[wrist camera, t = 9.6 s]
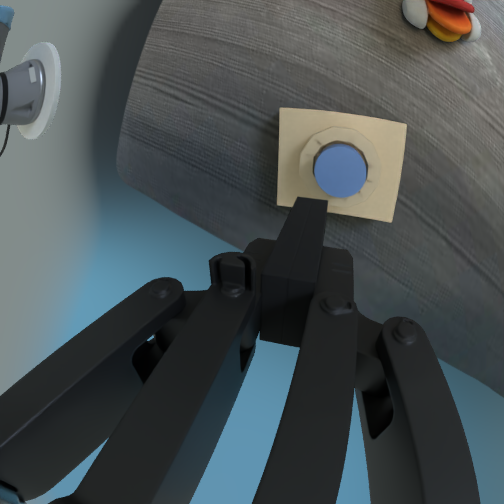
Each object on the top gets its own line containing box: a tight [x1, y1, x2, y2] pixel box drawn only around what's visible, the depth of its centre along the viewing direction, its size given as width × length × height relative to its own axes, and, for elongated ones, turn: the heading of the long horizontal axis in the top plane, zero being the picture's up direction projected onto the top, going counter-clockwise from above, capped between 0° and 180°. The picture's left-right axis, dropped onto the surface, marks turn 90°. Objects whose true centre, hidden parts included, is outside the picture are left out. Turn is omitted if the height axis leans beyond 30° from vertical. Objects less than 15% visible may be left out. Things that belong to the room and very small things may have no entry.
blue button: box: [314, 144, 367, 198], centre depth 22 cm, size 4×4×2 cm
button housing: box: [277, 108, 407, 223], centre depth 24 cm, size 12×10×4 cm
